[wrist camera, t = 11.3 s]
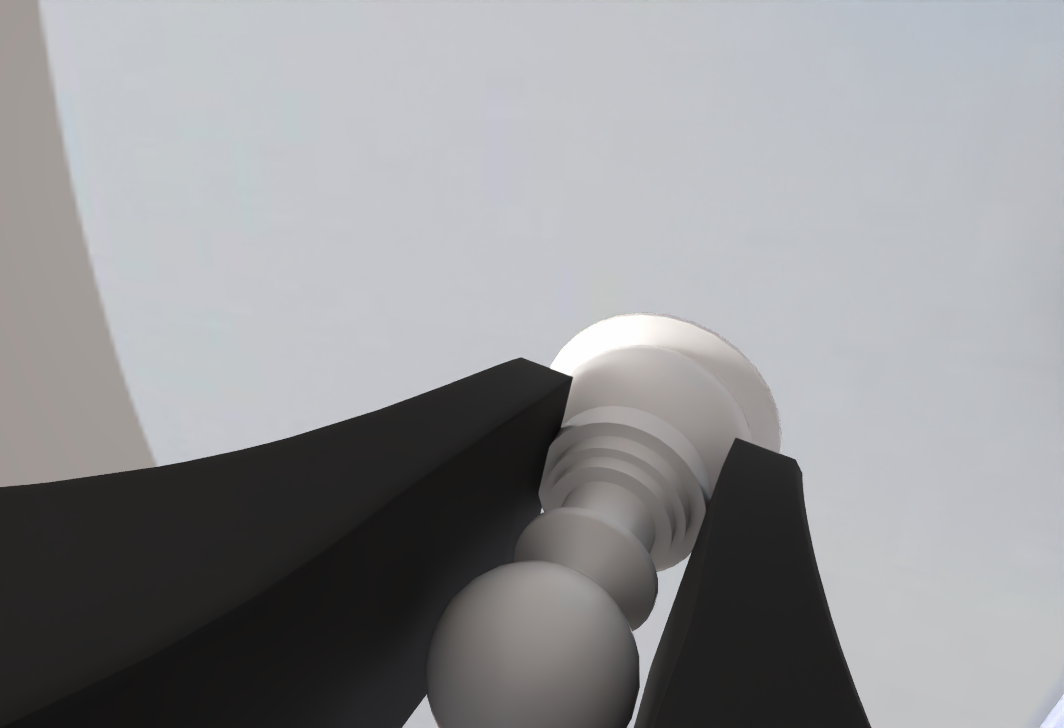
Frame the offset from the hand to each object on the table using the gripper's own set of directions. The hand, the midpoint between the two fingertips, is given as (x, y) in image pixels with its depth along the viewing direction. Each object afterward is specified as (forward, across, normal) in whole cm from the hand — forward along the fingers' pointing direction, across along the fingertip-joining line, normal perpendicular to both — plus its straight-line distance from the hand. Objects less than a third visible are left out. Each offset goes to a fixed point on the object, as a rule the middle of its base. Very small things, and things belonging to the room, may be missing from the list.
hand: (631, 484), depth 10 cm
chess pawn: (+2, 0, 0) cm, 2 cm away
